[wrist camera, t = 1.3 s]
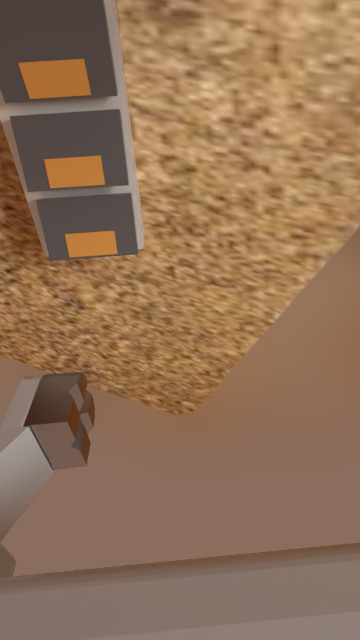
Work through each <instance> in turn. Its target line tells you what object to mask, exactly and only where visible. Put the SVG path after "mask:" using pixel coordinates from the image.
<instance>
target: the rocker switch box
mask: <svg viewBox="0 0 360 640" xmlns="http://www.w3.org/2000/svg"><path fill="white" fill-rule="evenodd" d="M104 4H105V10H106V17H107V24H108V30H109V37H110V43H111V50H112V56H113V63H114V69H115V76H116V82H117V89H118V95H117V96H108V97H93V98H77V99H62V100H46V101H31V102H15V103H5V101H4V98H3V95H2V93H1V90H0V120H1V124H2V127H3V130H4V133H5V136H6V139H7V142H8V145H9V148H10V151H11V154H12V157H13V160H14V163H15V166H16V169H17V172H18V175H19V178H20V181H21V184H22V187H23V190H24V193H25V197H26V200H27V203H28V206H29V209H30V212H31V215H32V218H33V221H34V224H35V227H36V230H37V233H38V236H39V239H40V242H41V245H42V248H43V251H44V254H45V256H49V254H48V250H47V246H46V241H45V237H44V233H43V229H42V225H41V220H40V216H39V212H38V208H37V203H36V200H38V199H46V198H60V197H75V196H89V195H104V194H118V193H132V200H133V209H134V217H135V226H136V235H137V243H138V249H143V243H144V229H143V221H142V213H141V205H140V197H139V188H138V180H137V172H136V164H135V156H134V147H133V139H132V131H131V123H130V115H129V107H128V98H127V90H126V82H125V74H124V66H123V57H122V49H121V41H120V33H119V25H118V17H117V8H116V0H104ZM112 109H120V111H121V119H122V128H123V136H124V144H125V153H126V161H127V170H128V178H129V185H126V186H111V187H97V188H82V189H68V190H53V191H38V192H28V190H27V186H26V182H25V178H24V174H23V169H22V165H21V161H20V157H19V153H18V149H17V145H16V141H15V137H14V132H13V128H12V124H11V120H10V116H20V115H35V114H50V113H66V112H81V111H96V110H112Z"/></svg>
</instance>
